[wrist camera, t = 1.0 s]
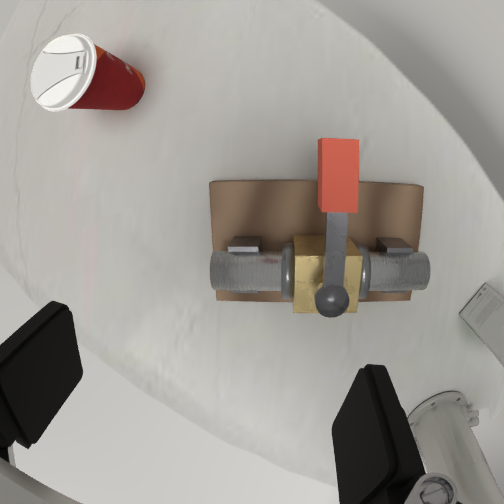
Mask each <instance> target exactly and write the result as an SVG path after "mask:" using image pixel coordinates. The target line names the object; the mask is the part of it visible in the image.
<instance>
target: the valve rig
mask: <svg viewBox="0 0 504 504" xmlns="http://www.w3.org/2000/svg"><path fill="white" fill-rule="evenodd" d="M209 189H210V209H211V226H212V243H213V253H212V256H211V263H210V280H211V286H212V288H213V289H214V290H216V298H217V300H221V301H256V302H293V308H294V313H319V312H318V311H317V309H316V305H315V299H314V292H315V289H316V288H317V286H318V285H319V284H320V283H322V278H323V260H324V238H325V212H321V210H320V208H319V207H318V180H226V181H212V182H210V183H209ZM423 192H424V187H423V186H420V185H414V184H400V183H384V182H365V181H359V185H358V212H357V213H348V229H347V246H346V260H345V273H344V284H343V285H344V286H345V288H346V291H347V293H348V296H349V306H348V308H347V310H346V311H345V312H344V313H356V312H357V305H358V302H371V301H405V300H410V298H411V292H412V290H423V289H425V288H426V287H427V285H428V282H429V279H430V263H429V259H428V256H427V255H426V253H424V252H418V246H419V238H420V229H421V219H422V207H423Z"/></svg>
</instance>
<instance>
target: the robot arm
mask: <svg viewBox="0 0 504 504" xmlns="http://www.w3.org/2000/svg"><path fill="white" fill-rule="evenodd" d="M82 375H83V369H82V364H81V359H80V355H79V350H78V345H77V339H76V334H75V328H74V322H73V315H72V312H71V311H70V310H69V308H68V306H67V305H65V304H62V303H59V302H56V301H51V302H49V303H48V304H47V305H46V306H45V307H43V308H42V309H41V310H40V311H39V312H37V313H36V314H35V315H34V316H33V317H32V318H31V319H29V320H28V321H27V322H26V323H25V324H23V325H22V326H21V327H20V328H19V329H18V330H17V331H15V332H14V333H13V334H12V335H11V336H10V337H9V338H8V339H7V340H5V342H3V343H2V344H1V345H0V504H82V503H80V502H77V501H75V500H73V499H71V498H69V497H67V496H65V495H63V494H61V493H59V492H57V491H55V490H53V489H51V488H49V487H48V486H46V485H44V484H42V483H40V482H39V481H37V480H35V479H33V478H32V477H30V476H28V475H27V474H25V473H24V472H22V471H20V470H19V469H17V468H16V465H15V459H14V453H13V446H12V444H13V443H14V441H15V440H16V442H17V443H19V444H20V445H22V446H24V447H25V448H27V449H29V447H30V446H31V444H35V443H36V442H37V441H38V440H39V438H40V437H41V435H42V434H43V432H44V431H45V430H46V428H47V427H48V425H49V424H50V422H51V421H52V419H53V418H54V416H55V415H56V414H57V412H58V411H59V409H60V408H61V406H62V405H63V404H64V402H65V401H66V399H67V398H68V397H69V395H70V394H71V392H72V391H73V390H74V388H75V387H76V385H77V384H78V383H79V381H80V380H81V378H82ZM466 407H467V402H466V399H465V397H464V396H463V395H462V394H461V393H459V392H446V393H442V394H439V395H436V396H434V397H432V398H430V399H428V400H427V401H425V402H424V403H422V404H421V405H420V406H419V407H417V408H416V409H415V410H414V411H413V412H412V413H411V415H410V416H409V418H408V419H407V417H406V414H405V411H404V409H403V408H402V407H401V405H400V402H399V400H398V397H397V394H396V392H395V389H394V387H393V384H392V381H391V379H390V376H389V374H388V371H387V369H386V367H385V366H384V365H373V364H367V365H366V366H365V367H364V368H360V369H359V371H358V373H357V375H356V377H355V379H354V382H353V384H352V386H351V388H350V390H349V392H348V394H347V396H346V398H345V400H344V402H343V404H342V406H341V408H340V410H339V412H338V414H337V416H336V418H335V420H334V422H333V425H332V438H333V446H334V454H335V463H336V472H337V481H338V491H339V501H340V504H504V496H503V494H502V492H501V491H500V489H499V487H498V485H497V483H496V481H495V479H494V477H493V474H492V472H491V470H490V468H489V466H488V464H487V461H486V459H485V457H484V455H483V452H482V450H481V448H480V446H479V444H478V442H477V439H476V437H475V435H474V434H473V431H472V429H471V427H473V426H477V425H478V423H479V418H478V415H479V412H478V410H475V411H471V412H468V411H467V409H466ZM415 440H416V441H418V443H419V446H420V449H421V452H422V455H423V459H424V462H425V465H426V468H427V471H428V474H426V473H425V470H424V466H423V463H422V460H421V457H420V454H419V451H418V448H417V445H416V442H415Z"/></svg>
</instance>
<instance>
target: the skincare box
mask: <svg viewBox="0 0 504 504" xmlns="http://www.w3.org/2000/svg"><path fill="white" fill-rule="evenodd" d="M460 316H461V317H462V318H463V319H464V320H465V321H466V323H467V324H468V325H469V326H470V327H471V328H472V330H473V331H474V332H475V333H476V334H477V335H478V337H479V338H480V339H481V340H482V341H483V342H484V344H485V345H486V346H487V347H488V348H489V350H490V351H491V352H492V353H493V354H494V356H495V357H496V358H497V359H498V360H499V362H500V363H501V364H502V365H503V367H504V297H503V296H501V295H500V294H499V293H498V292H496V291H495V290H494V289H493V288H491V287H490V286H489V285H488V284H487V283H485V284H484V285H483V286H482V288H481V289H480V290H479V291H478V292H477V294H476V295H475V296H474V297H473V298H472V300H471V301H470V302H469V303H468V304H467V306H466V307H465V308H464V309H463V310H462V311H461V313H460Z"/></svg>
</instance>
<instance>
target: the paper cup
mask: <svg viewBox="0 0 504 504" xmlns="http://www.w3.org/2000/svg"><path fill="white" fill-rule="evenodd" d="M144 89H145V82H144V78H143V76H142V75H141V73H140V72H139V71H137V70H136V69H134V68H133V67H132V66H130V65H128V64H127V63H125V62H124V61H122V60H120V59H119V58H117V57H115V56H114V55H112V54H110V53H109V52H107V51H105V50H103V49H102V48H100V47H98V46H96V45H95V44H93V42H92V41H91V39H90V38H88V37H87V36H85V35H83V34H70V35H64V36H60V37H58V38H56V39H54V40H53V41H51V42H50V43H49V44H48V45H46V47H45V48H44V49H43V50H42V51H41V53H40V55H39V56H38V58H37V60H36V62H35V64H34V66H33V69H32V74H31V91H32V94H33V96H34V98H35V100H36V101H37V102H38V103H39V104H40V105H41V106H42V107H43V108H45V109H46V110H49V111H54V112H57V111H62V110H65V109H67V108H71V109H102V110H126V109H129V108H131V107H133V106H134V105H136V104H137V103H138V102H139V100H140V99H141V97H142V95H143V93H144Z"/></svg>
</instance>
